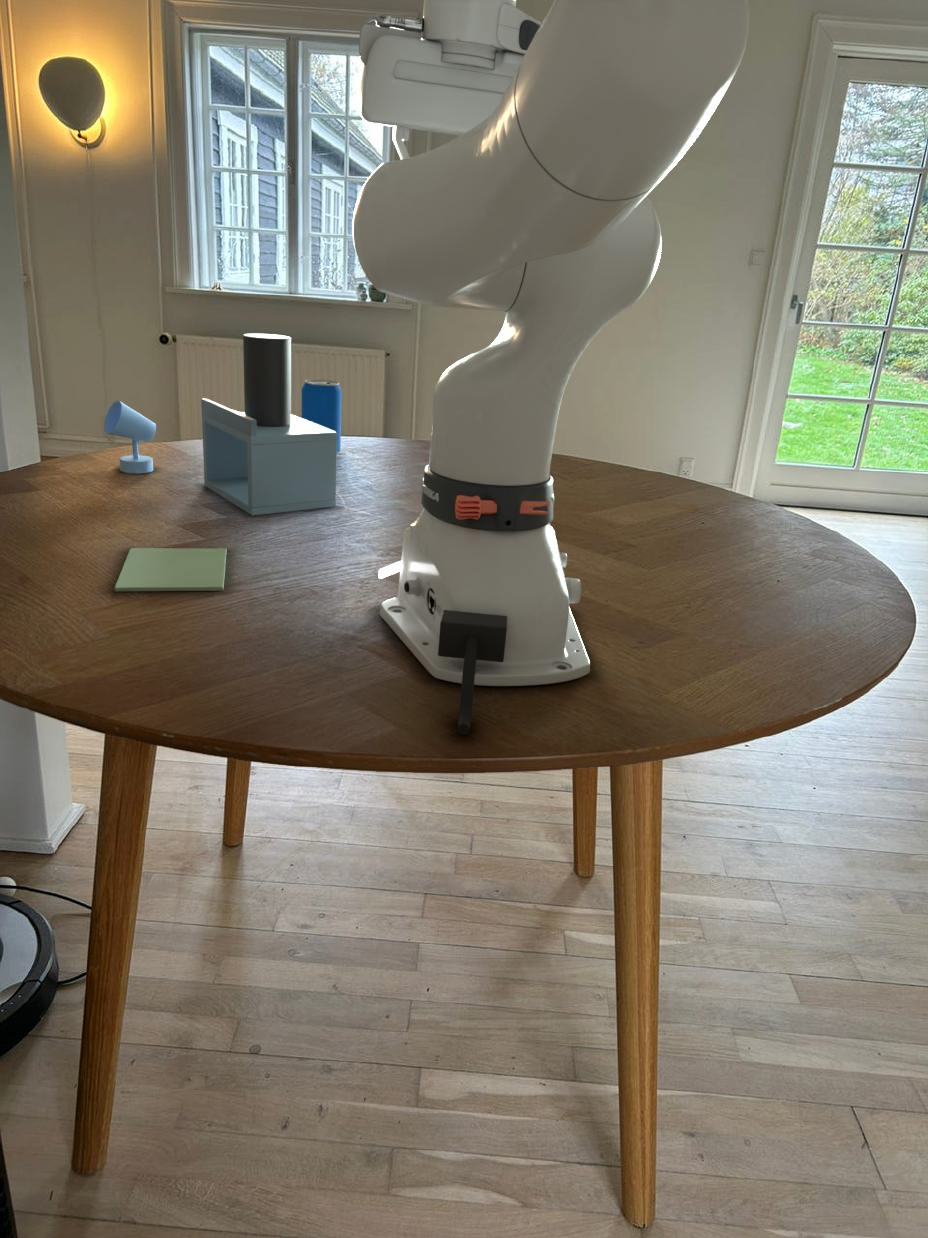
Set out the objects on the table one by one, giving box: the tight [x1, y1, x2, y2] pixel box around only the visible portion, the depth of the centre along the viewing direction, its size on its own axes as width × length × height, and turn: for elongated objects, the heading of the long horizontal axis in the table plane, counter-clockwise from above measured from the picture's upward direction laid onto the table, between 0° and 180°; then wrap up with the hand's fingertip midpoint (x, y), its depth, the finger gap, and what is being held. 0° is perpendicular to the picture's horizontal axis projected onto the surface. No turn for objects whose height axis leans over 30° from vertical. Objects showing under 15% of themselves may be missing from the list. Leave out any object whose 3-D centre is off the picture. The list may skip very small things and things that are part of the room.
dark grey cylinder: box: [242, 333, 292, 427], centre depth 111 cm, size 6×6×11 cm
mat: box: [114, 547, 227, 592], centre depth 88 cm, size 12×10×1 cm
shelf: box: [200, 397, 338, 517], centre depth 115 cm, size 16×12×12 cm
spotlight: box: [103, 400, 157, 474], centre depth 122 cm, size 5×10×7 cm
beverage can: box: [300, 378, 343, 454], centre depth 141 cm, size 6×6×12 cm
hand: (453, 185), depth 89 cm, fingers open, 8 cm apart
